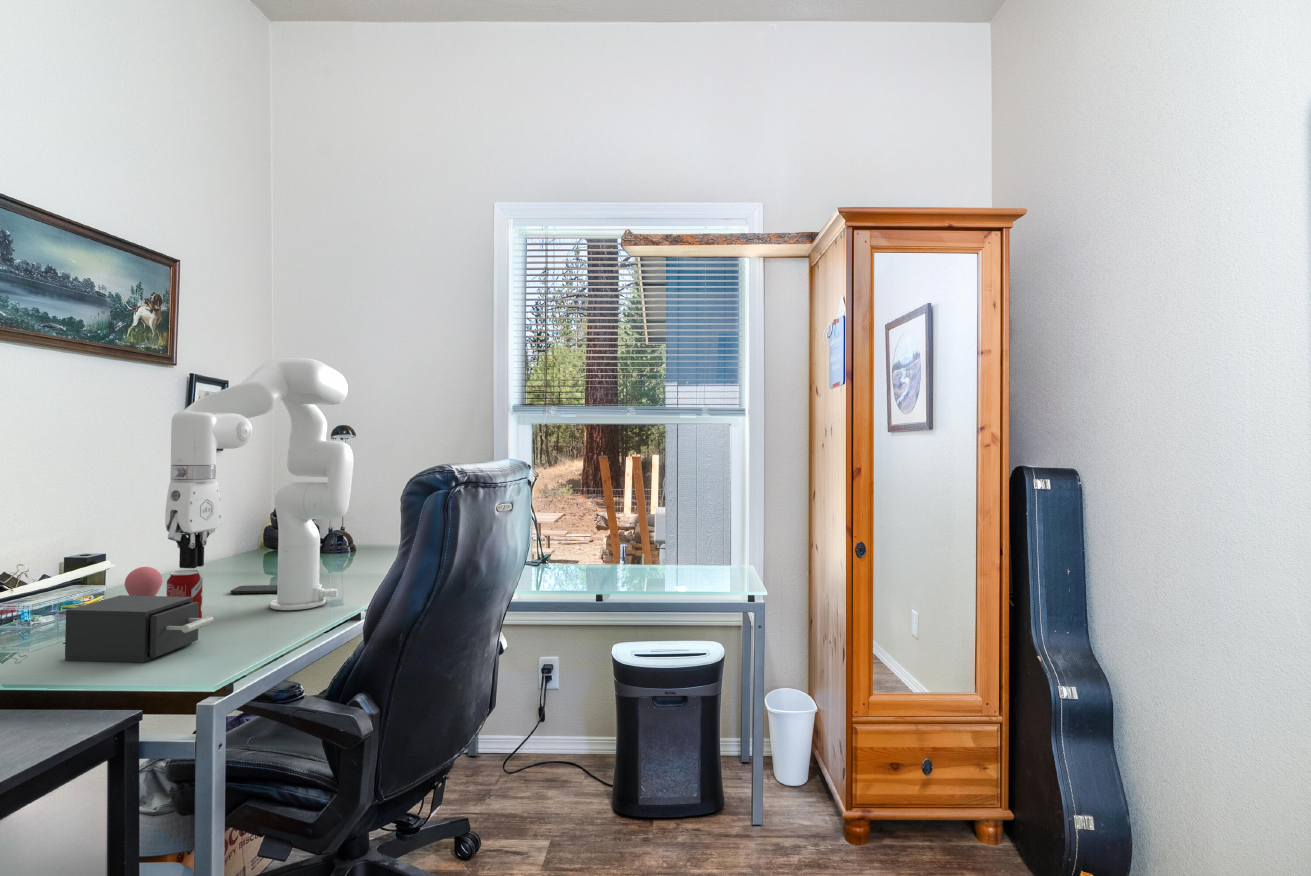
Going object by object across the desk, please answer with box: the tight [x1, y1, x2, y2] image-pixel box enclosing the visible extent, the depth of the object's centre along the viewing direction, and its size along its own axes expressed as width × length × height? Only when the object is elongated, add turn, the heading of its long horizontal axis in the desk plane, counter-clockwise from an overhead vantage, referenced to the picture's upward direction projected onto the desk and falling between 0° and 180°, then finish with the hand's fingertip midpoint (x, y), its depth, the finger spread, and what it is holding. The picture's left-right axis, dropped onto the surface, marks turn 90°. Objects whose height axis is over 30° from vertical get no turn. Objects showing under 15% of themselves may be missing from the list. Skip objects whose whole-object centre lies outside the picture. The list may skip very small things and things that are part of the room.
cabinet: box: [64, 594, 193, 664], centre depth 136 cm, size 16×13×10 cm
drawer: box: [148, 602, 214, 658], centre depth 136 cm, size 19×11×8 cm, turn 88°
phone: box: [230, 584, 278, 594], centre depth 191 cm, size 7×1×15 cm
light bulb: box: [124, 566, 163, 596], centre depth 161 cm, size 7×7×12 cm
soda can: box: [165, 569, 204, 618], centre depth 156 cm, size 7×7×12 cm
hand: (191, 566), depth 136 cm, fingers closed
